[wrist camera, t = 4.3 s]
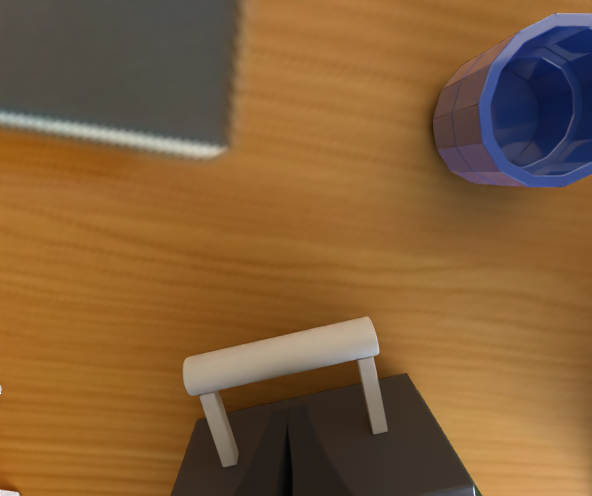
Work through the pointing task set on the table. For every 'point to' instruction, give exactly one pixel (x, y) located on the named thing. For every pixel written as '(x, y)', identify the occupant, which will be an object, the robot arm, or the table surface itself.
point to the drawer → (320, 418)
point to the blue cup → (522, 108)
